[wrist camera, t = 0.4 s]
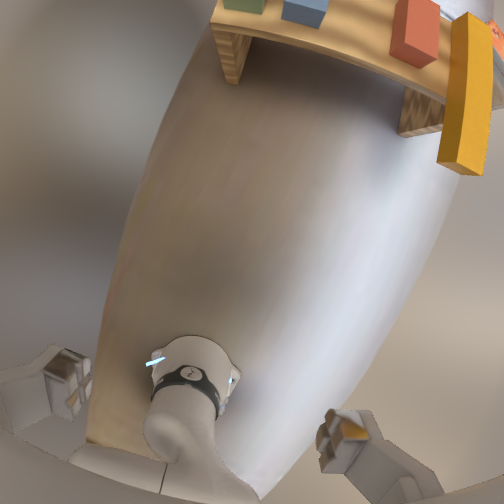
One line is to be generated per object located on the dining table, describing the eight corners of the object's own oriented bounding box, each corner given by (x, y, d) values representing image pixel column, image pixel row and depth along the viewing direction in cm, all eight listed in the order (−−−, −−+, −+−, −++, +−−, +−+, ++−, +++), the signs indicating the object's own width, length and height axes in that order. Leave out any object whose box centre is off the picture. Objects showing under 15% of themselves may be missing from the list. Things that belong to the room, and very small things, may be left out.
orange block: (461, 175, 29) (482, 176, 25) (435, 162, 29) (456, 162, 25) (474, 37, 24) (491, 28, 21) (451, 21, 24) (467, 11, 20)
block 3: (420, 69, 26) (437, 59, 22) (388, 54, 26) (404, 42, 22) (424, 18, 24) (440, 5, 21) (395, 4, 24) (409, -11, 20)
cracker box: (473, 104, 48) (540, 90, 28) (460, 118, 49) (529, 105, 29) (435, 51, 46) (494, 17, 25) (420, 62, 47) (480, 28, 26)
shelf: (405, 138, 51) (487, 123, 27) (226, 83, 49) (209, 21, 25) (415, 83, 48) (490, 48, 25) (243, 28, 46) (239, -51, 23)
